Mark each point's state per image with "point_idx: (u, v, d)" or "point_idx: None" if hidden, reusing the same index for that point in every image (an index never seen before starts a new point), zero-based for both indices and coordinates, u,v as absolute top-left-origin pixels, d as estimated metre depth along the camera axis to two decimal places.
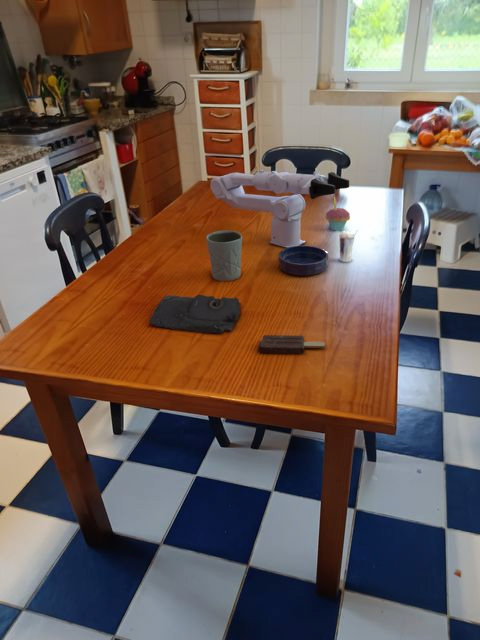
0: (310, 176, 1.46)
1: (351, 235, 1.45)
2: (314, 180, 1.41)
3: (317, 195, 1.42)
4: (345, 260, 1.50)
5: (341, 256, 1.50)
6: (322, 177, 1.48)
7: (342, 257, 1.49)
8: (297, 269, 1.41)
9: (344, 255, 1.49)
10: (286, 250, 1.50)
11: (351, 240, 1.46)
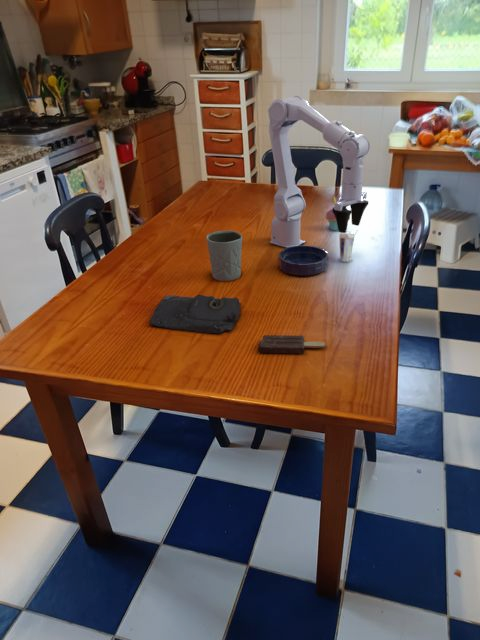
0: (357, 195, 1.38)
1: (351, 235, 1.45)
2: (349, 213, 1.38)
3: (335, 215, 1.40)
4: (345, 260, 1.50)
5: (341, 256, 1.50)
6: None
7: (342, 257, 1.49)
8: (297, 269, 1.41)
9: (344, 255, 1.49)
10: (286, 250, 1.50)
11: (351, 240, 1.46)
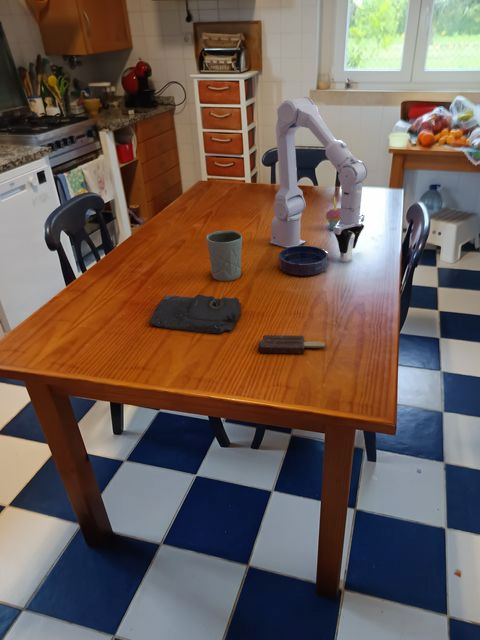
0: (355, 219, 1.42)
1: (352, 235, 1.45)
2: (349, 235, 1.42)
3: (336, 237, 1.45)
4: (345, 260, 1.50)
5: (341, 256, 1.50)
6: None
7: (342, 257, 1.49)
8: (297, 269, 1.41)
9: (344, 255, 1.49)
10: (286, 250, 1.50)
11: (351, 240, 1.46)
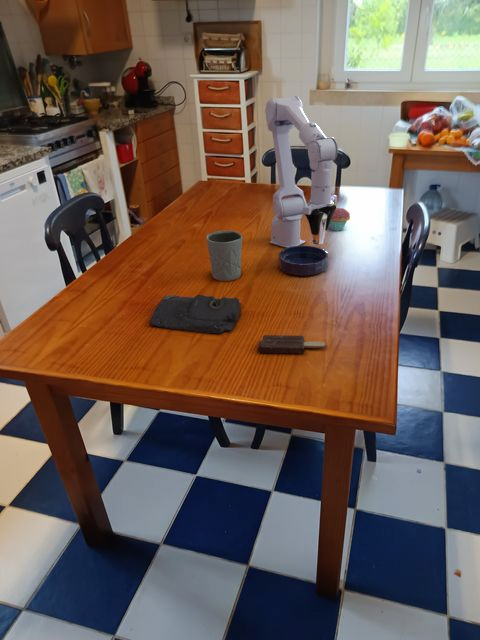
0: (326, 199, 1.36)
1: (323, 215, 1.39)
2: (320, 216, 1.36)
3: (307, 218, 1.39)
4: (317, 242, 1.44)
5: (313, 238, 1.44)
6: None
7: (314, 239, 1.43)
8: (297, 269, 1.41)
9: (316, 237, 1.43)
10: (286, 250, 1.50)
11: (323, 221, 1.40)
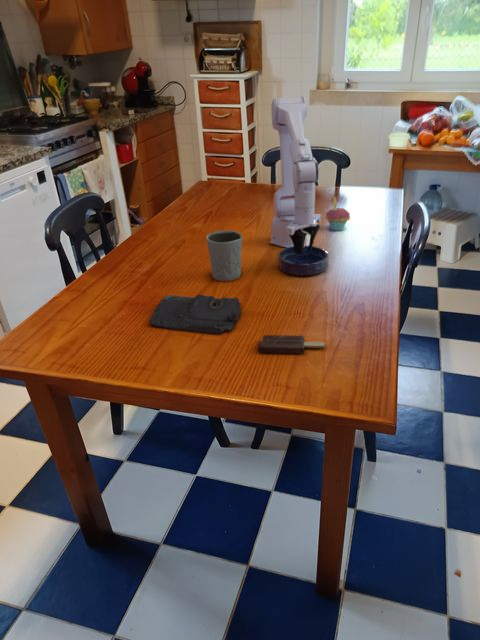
0: (309, 219, 1.37)
1: (307, 235, 1.41)
2: (304, 236, 1.38)
3: (291, 237, 1.41)
4: (301, 261, 1.45)
5: (297, 257, 1.45)
6: None
7: (298, 258, 1.45)
8: (297, 269, 1.41)
9: (300, 256, 1.44)
10: (286, 250, 1.50)
11: (307, 240, 1.42)
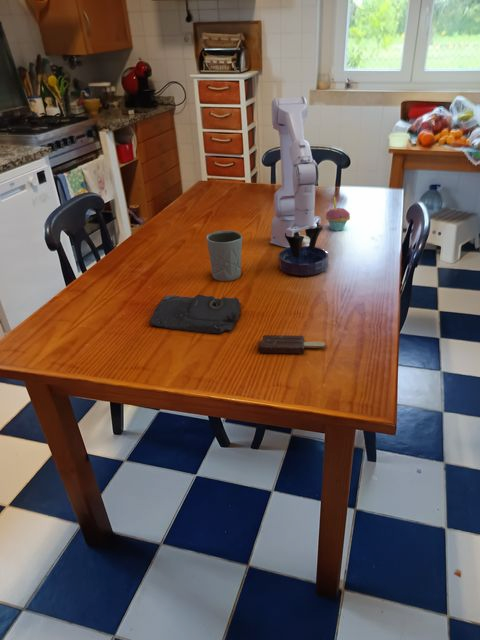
0: (309, 221, 1.38)
1: (306, 239, 1.42)
2: (301, 239, 1.38)
3: (288, 241, 1.40)
4: None
5: (297, 261, 1.46)
6: None
7: (298, 262, 1.46)
8: (297, 269, 1.41)
9: (300, 260, 1.45)
10: (286, 250, 1.50)
11: (306, 244, 1.42)
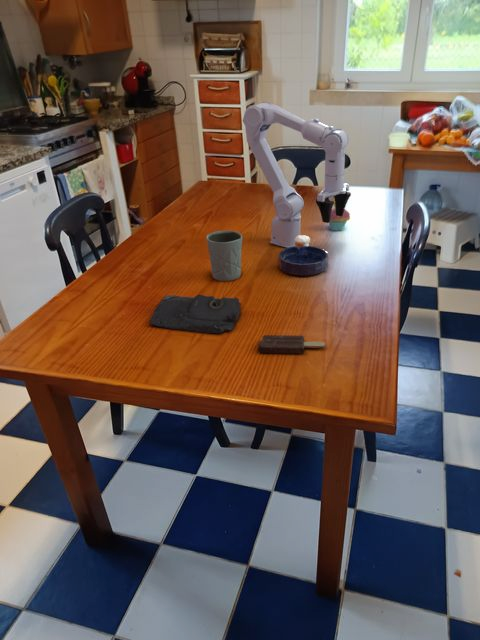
0: (339, 187, 1.45)
1: (306, 239, 1.42)
2: (331, 204, 1.45)
3: (319, 206, 1.48)
4: None
5: (297, 261, 1.46)
6: None
7: (298, 262, 1.46)
8: (297, 269, 1.41)
9: (300, 260, 1.45)
10: (286, 250, 1.50)
11: (306, 244, 1.42)
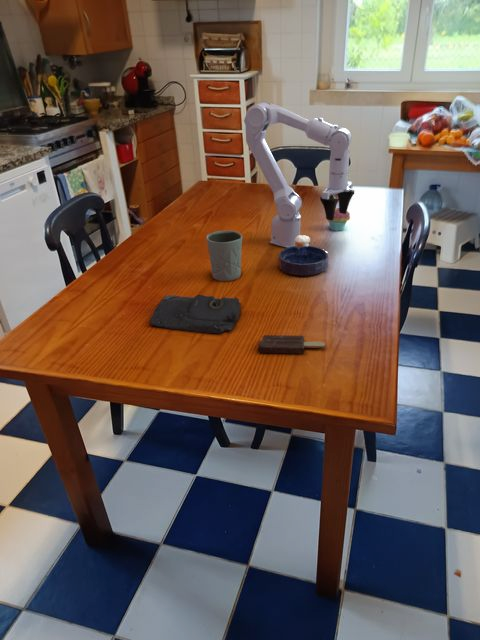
0: (343, 185, 1.47)
1: (306, 239, 1.42)
2: (335, 202, 1.47)
3: (323, 204, 1.49)
4: None
5: (297, 261, 1.46)
6: None
7: (298, 262, 1.46)
8: (297, 269, 1.41)
9: (300, 260, 1.45)
10: (286, 250, 1.50)
11: (306, 244, 1.42)
